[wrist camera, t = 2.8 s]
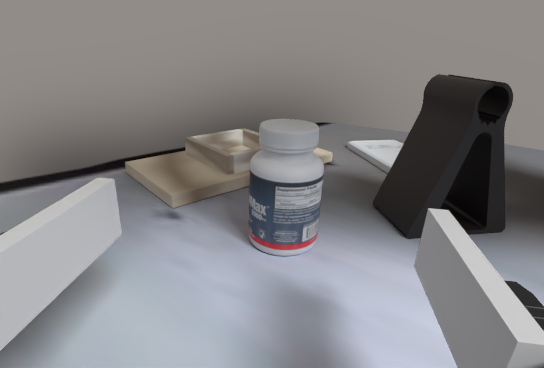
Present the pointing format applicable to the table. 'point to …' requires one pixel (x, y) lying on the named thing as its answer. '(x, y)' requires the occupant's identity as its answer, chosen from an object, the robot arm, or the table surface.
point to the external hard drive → (377, 151)
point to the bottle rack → (202, 167)
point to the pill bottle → (285, 188)
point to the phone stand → (452, 158)
